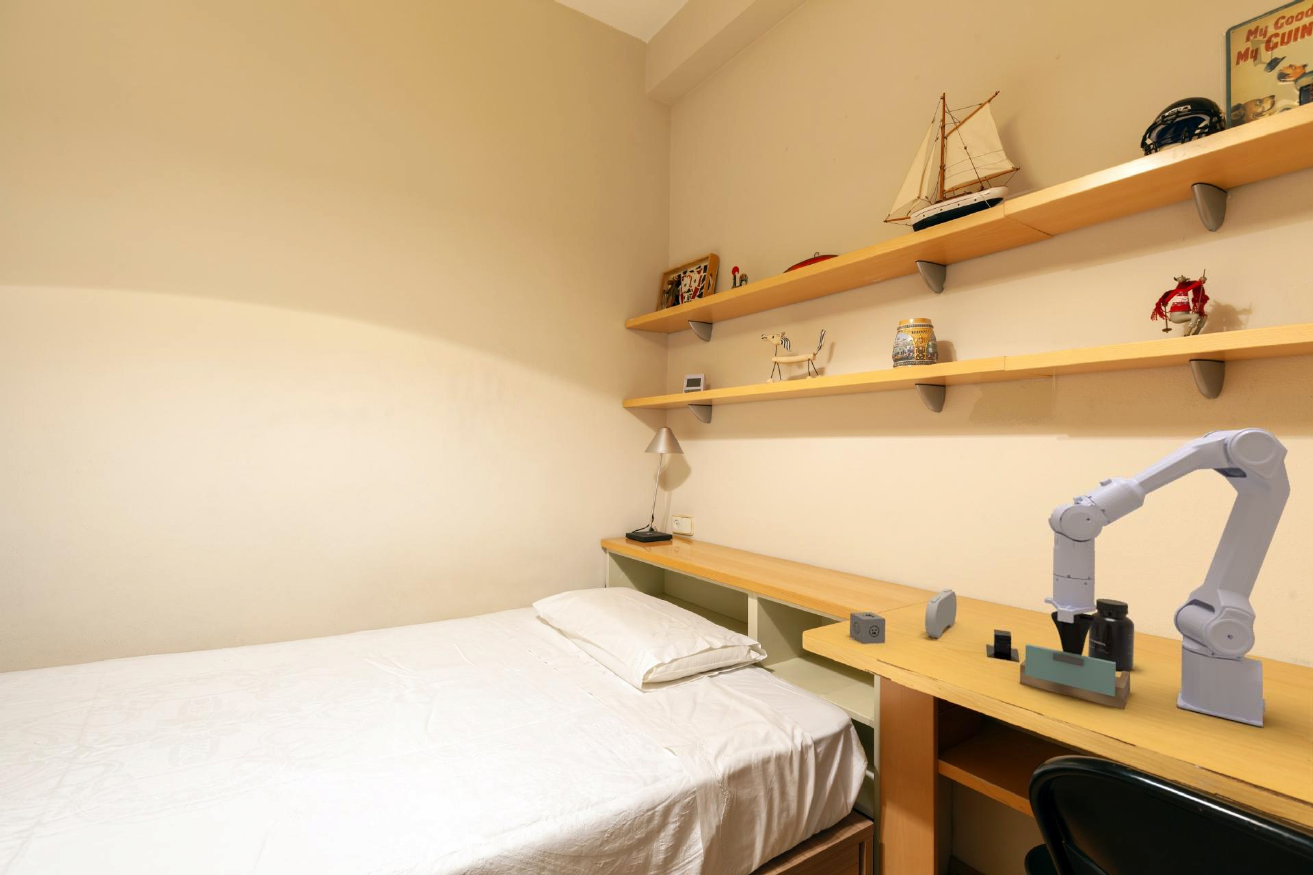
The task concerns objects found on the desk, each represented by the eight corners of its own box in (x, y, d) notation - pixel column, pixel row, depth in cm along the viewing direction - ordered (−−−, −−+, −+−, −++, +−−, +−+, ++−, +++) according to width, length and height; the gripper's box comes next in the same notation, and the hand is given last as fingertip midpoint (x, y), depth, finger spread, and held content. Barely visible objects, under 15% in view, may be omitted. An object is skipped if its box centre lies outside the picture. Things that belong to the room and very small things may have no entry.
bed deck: (1130, 691, 100) (1130, 672, 100) (1123, 709, 93) (1123, 688, 93) (1032, 668, 109) (1033, 651, 109) (1019, 683, 102) (1020, 664, 102)
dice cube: (884, 643, 123) (885, 618, 123) (863, 644, 121) (863, 619, 122) (870, 635, 127) (871, 612, 128) (849, 636, 126) (850, 612, 126)
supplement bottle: (1085, 664, 113) (1086, 600, 113) (1090, 656, 118) (1091, 595, 118) (1132, 674, 108) (1132, 608, 108) (1135, 665, 113) (1136, 601, 113)
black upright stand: (1025, 668, 111) (1025, 644, 111) (980, 661, 115) (980, 637, 115) (1021, 650, 122) (1021, 627, 122) (980, 643, 125) (980, 622, 126)
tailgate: (1115, 694, 93) (1115, 662, 93) (1114, 697, 92) (1114, 664, 92) (1026, 673, 101) (1026, 643, 101) (1024, 675, 100) (1024, 645, 100)
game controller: (945, 621, 141) (946, 585, 141) (956, 622, 139) (957, 587, 140) (923, 639, 126) (924, 600, 126) (935, 642, 124) (935, 602, 124)
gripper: (1053, 567, 108) (1052, 642, 108) (1036, 577, 97) (1034, 661, 97) (1102, 573, 103) (1101, 652, 103) (1089, 585, 93) (1087, 673, 92)
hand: (1072, 657), depth 100 cm, fingers closed
